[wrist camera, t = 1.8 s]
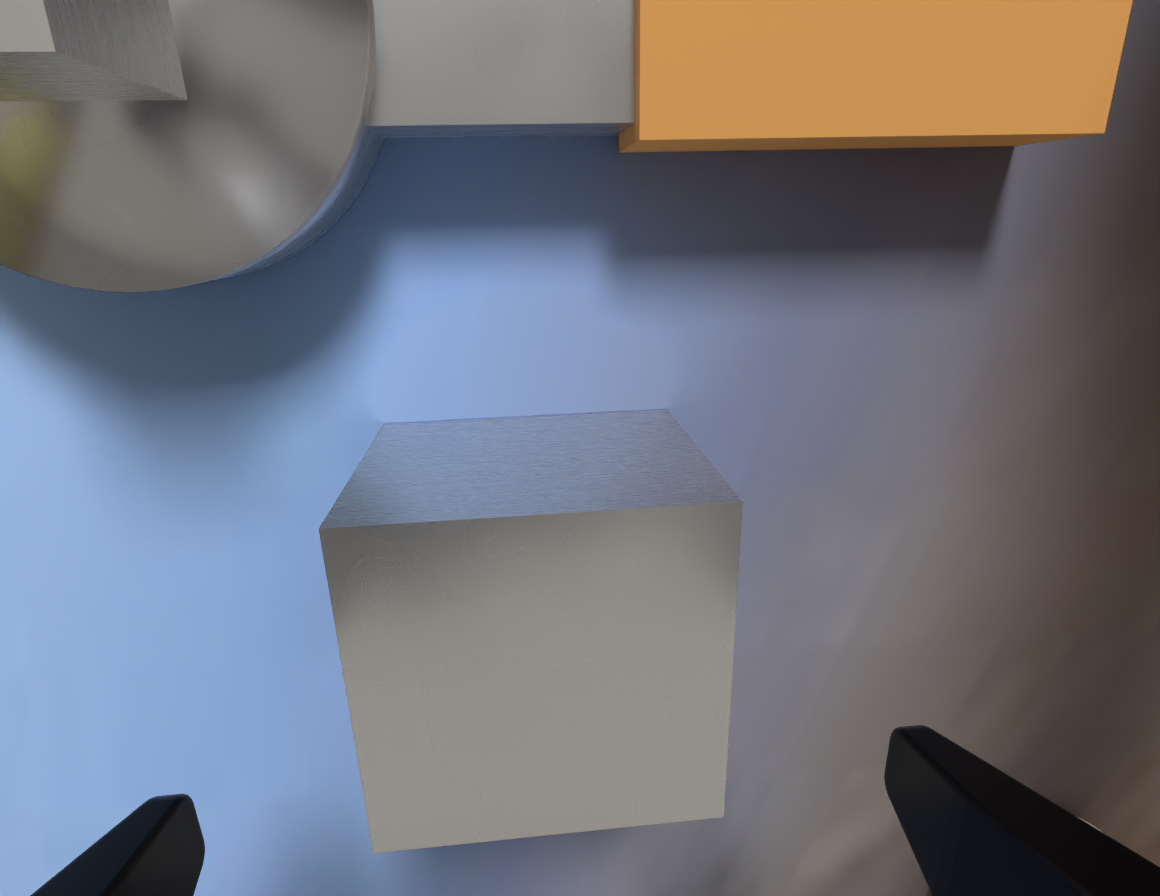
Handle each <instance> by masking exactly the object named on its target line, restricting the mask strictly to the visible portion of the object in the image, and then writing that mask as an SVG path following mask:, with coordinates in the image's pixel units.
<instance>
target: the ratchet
mask: <svg viewBox="0 0 1160 896" xmlns="http://www.w3.org/2000/svg"><path fill="white" fill-rule="evenodd" d="M1132 2H1133V0H0V264H1V265H3V266H6V267H8V268H11V269H13V270H16V271H19V272H21V273H24V274H26V275H29V276H32V277H36V278H40V279H43V280H47V281H51V282H54V283H58V284H62V285H65V286H71V287H78V288H84V289H91V290H97V291H110V292H147V291H157V290H168V289H175V288H180V287H185V286H189V285H194V284H199V283H204V282H209V281H213V280H218V279H223V278H228V277H232V276H237V275H241V274H245V273H249V272H254V271H258V270H261V269H263V268H266V267H268V266H271V265H273V264H276V263H278V262H281V261H284V260H285V259H287V258H289V257H291V256H292V255H294V254H296V253H298V252H299V251H301V250H303V249H305V248H306V247H308V246H309V245H310V244H312V243H313V242H314V241H315V240H317V239H318V238H319V237H321V236H322V235H323V234H324V233H326V232H327V231H328V230H329V229H330V228H331V227H332V226H333V225H334V224H335V223H336V222H337V221H338V220H339V219H340V218H341V217H342V215H343V214H344V213H345V212H346V211H347V210H348V209H349V207H350V206H351V204H352V203H353V202H354V200H355V199H356V197H357V196H358V194H359V193H360V192H361V190H362V189H363V187H364V185H365V183H366V181H367V179H368V177H369V175H370V173H371V171H372V169H373V167H374V166H375V164H376V161H377V158H378V156H379V153H380V150H381V147H382V144H383V141H384V138H455V137H526V136H597V135H619V152H681V151H742V150H804V149H865V148H927V147H988V146H1018V145H1025V144H1032V143H1039V142H1046V141H1053V140H1060V139H1067V138H1074V137H1081V136H1088V135H1095V134H1102V133H1105V129H1106V124H1107V119H1108V114H1109V110H1110V105H1111V100H1112V96H1113V91H1114V86H1115V82H1116V77H1117V72H1118V67H1119V63H1120V58H1121V53H1122V49H1123V44H1124V39H1125V34H1126V30H1127V25H1128V20H1129V16H1130V11H1131V6H1132Z"/></svg>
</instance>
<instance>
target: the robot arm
mask: <svg viewBox="0 0 1160 896" xmlns="http://www.w3.org/2000/svg"><path fill="white" fill-rule="evenodd" d="M884 778H885V786H886V790H887V793H888V796H889V798H890V801H891V803H892V805H893V807H894V810H895V812H896V814H897V816H898V819H899V821H900V823H901V825H902V828H903V830H904V832H905V835H906V837H907V839H908V841H909V844H910V846H911V848H912V850H913V853H914V855H915V857H916V859H917V862H918V864H919V866H920V869H921V871H922V873H923V875H924V878H925V880H926V882H927V884H928V887H929V889H930V891H931V893H932V896H1160V867H1159V866H1157V865H1155V864H1154V863H1152V862H1150V861H1149V860H1147V859H1145V858H1144V857H1142V856H1140V855H1139V854H1137V853H1135V852H1134V851H1132V850H1130V849H1129V848H1127V847H1126V846H1124V845H1122V844H1121V843H1119V842H1117V841H1116V840H1114V839H1112V838H1111V837H1109V836H1107V835H1106V834H1104V833H1102V832H1101V831H1099V830H1097V829H1096V828H1094V827H1093V826H1091V825H1089V824H1088V823H1086V822H1084V821H1083V820H1081V819H1079V818H1078V817H1076V816H1074V815H1073V814H1071V813H1069V812H1068V811H1066V810H1064V809H1063V808H1061V807H1060V806H1058V805H1056V804H1055V803H1053V802H1051V801H1050V800H1048V799H1046V798H1045V797H1043V796H1041V795H1040V794H1038V793H1036V792H1035V791H1033V790H1031V789H1030V788H1028V787H1027V786H1025V785H1023V784H1022V783H1020V782H1018V781H1017V780H1015V779H1013V778H1012V777H1010V776H1008V775H1007V774H1005V773H1003V772H1002V771H1000V770H998V769H997V768H995V767H994V766H992V765H990V764H989V763H987V762H985V761H984V760H982V759H980V758H979V757H977V756H975V755H974V754H972V753H970V752H969V751H967V750H965V749H964V748H962V747H961V746H959V745H957V744H956V743H954V742H952V741H951V740H949V739H947V738H946V737H944V736H942V735H941V734H939V733H937V732H936V731H934V730H932V729H931V728H929V727H926V726H922V725H917V726H906V727H898V728H895V729H894V730H893V732H892V733H891V737H890V742H889V749H888V755H887V761H886V767H885V775H884ZM204 854H205V844H204V839H203V836H202V832H201V828H200V825H199V821H198V818H197V814H196V810H195V807H194V803H193V801H192V799H191V798H190V797H189V796H188V795H186V794H175V795H165V796H156V797H153V798H151V799H149V800H148V801H146V802H145V803H143V804H142V805H141V806H140V807H138V808H137V809H136V810H135V811H134V812H132V813H131V814H130V815H129V816H127V817H126V818H125V819H124V820H123V821H121V822H120V823H119V824H118V825H116V826H115V827H114V828H113V829H111V830H110V831H109V832H108V833H107V834H105V835H104V836H103V837H102V838H100V839H99V840H98V841H97V842H96V843H94V844H93V845H92V846H91V847H89V848H88V849H87V850H86V851H85V852H83V853H82V854H81V855H80V856H78V857H77V858H76V859H75V860H73V861H72V862H71V863H70V864H69V865H67V866H66V867H65V868H64V869H62V870H61V871H60V872H59V873H58V874H56V875H55V876H54V877H53V878H51V879H50V880H49V881H48V882H46V883H45V884H44V885H43V886H42V887H40V888H39V889H38V890H37V891H35V892H34V893H33V894H32V895H31V896H193V895H194V892H195V888H196V885H197V882H198V879H199V875H200V872H201V869H202V865H203V861H204Z"/></svg>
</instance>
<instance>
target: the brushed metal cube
mask: <svg viewBox="0 0 1160 896" xmlns="http://www.w3.org/2000/svg"><path fill="white" fill-rule="evenodd" d="M742 504H743V502H742V501H741V499H740V498H739V497H738V496H737V494H736V493H735V492H734V491H733V490H732V488H731V487H730V486H729V485H728V483H727V482H726V481H725V480H724V479H723V477H722V476H721V475H720V474H719V472H718V471H717V470H716V469H715V467H714V466H713V465H712V464H711V463H710V461H709V460H708V459H707V458H706V456H705V455H704V454H703V453H702V452H701V450H700V449H699V448H698V447H697V445H696V444H695V443H694V442H693V441H692V439H691V438H690V437H689V436H688V434H687V433H686V432H685V431H684V430H683V428H682V427H681V426H680V425H679V423H678V422H677V421H676V420H675V419H674V417H673V416H672V415H671V414H670V412H669V411H668V410H667V409H666V410H646V411H626V412H607V413H587V414H567V415H547V416H528V417H508V418H488V419H468V420H449V421H429V422H409V423H389V424H383V426H382V427H381V429H380V431H379V432H378V434H377V435H376V437H375V439H374V440H373V442H372V443H371V445H370V447H369V448H368V450H367V452H366V453H365V455H364V456H363V458H362V460H361V461H360V463H359V464H358V466H357V468H356V469H355V471H354V473H353V474H352V476H351V477H350V479H349V481H348V482H347V484H346V485H345V487H344V489H343V490H342V492H341V494H340V495H339V497H338V498H337V500H336V502H335V503H334V505H333V506H332V508H331V510H330V511H329V513H328V515H327V516H326V518H325V519H324V521H323V523H322V524H321V526H320V527H319V533H320V539H321V545H322V551H323V557H324V563H325V569H326V575H327V581H328V587H329V593H330V599H331V605H332V610H333V616H334V622H335V628H336V634H337V640H338V646H339V652H340V658H341V664H342V670H343V676H344V682H345V688H346V694H347V700H348V706H349V712H350V718H351V724H352V730H353V735H354V741H355V747H356V753H357V759H358V765H359V771H360V777H361V783H362V789H363V795H364V801H365V807H366V813H367V819H368V825H369V831H370V837H371V843H372V849H373V853H381V852H391V851H401V850H410V849H420V848H430V847H439V846H449V845H459V844H468V843H478V842H488V841H497V840H507V839H517V838H526V837H536V836H546V835H555V834H565V833H575V832H584V831H594V830H604V829H613V828H623V827H633V826H642V825H652V824H662V823H671V822H681V821H691V820H700V819H710V818H720V817H724V803H725V787H726V770H727V753H728V737H729V720H730V704H731V687H732V670H733V654H734V637H735V621H736V604H737V587H738V571H739V554H740V538H741V521H742Z"/></svg>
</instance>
